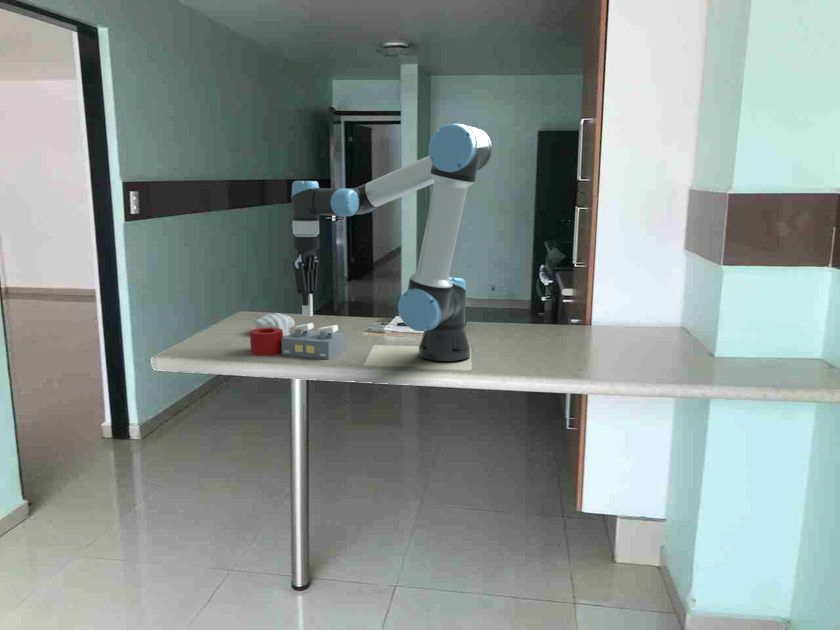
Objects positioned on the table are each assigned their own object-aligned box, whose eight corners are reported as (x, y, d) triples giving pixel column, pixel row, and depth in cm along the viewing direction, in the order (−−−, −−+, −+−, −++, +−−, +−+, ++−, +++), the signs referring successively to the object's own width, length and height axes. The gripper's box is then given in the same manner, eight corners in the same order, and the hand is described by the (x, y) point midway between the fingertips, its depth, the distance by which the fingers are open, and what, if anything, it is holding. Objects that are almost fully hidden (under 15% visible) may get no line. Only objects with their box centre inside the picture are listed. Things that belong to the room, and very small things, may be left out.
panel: (345, 349, 204) (345, 326, 202) (328, 359, 192) (327, 334, 191) (301, 345, 208) (300, 322, 207) (281, 355, 197) (280, 331, 195)
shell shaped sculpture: (259, 330, 230) (258, 311, 228) (296, 330, 230) (296, 311, 229) (252, 339, 217) (251, 319, 216) (292, 338, 218) (291, 319, 216)
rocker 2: (338, 329, 198) (337, 324, 198) (333, 332, 195) (331, 326, 195) (320, 333, 200) (319, 327, 200) (315, 335, 197) (313, 330, 197)
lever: (272, 358, 194) (271, 335, 193) (244, 355, 197) (243, 332, 196) (303, 344, 211) (303, 323, 209) (277, 341, 214) (277, 321, 213)
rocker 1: (313, 327, 201) (312, 322, 201) (308, 330, 197) (306, 324, 197) (296, 331, 203) (295, 325, 203) (290, 333, 199) (289, 328, 199)
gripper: (304, 233, 201) (306, 310, 206) (283, 236, 189) (285, 319, 194) (327, 234, 199) (328, 312, 204) (307, 237, 187) (308, 320, 192)
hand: (307, 315), depth 199 cm, fingers closed
